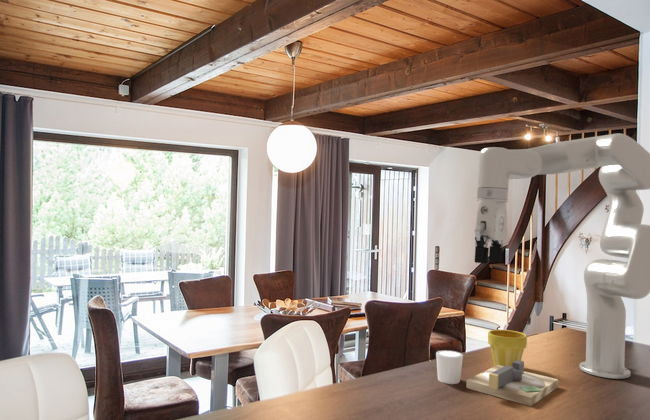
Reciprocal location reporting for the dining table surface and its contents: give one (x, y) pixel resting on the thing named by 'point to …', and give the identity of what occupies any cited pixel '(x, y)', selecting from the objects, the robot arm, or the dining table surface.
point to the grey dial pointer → (506, 374)
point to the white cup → (449, 366)
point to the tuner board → (515, 387)
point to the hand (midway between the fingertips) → (488, 262)
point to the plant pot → (506, 346)
